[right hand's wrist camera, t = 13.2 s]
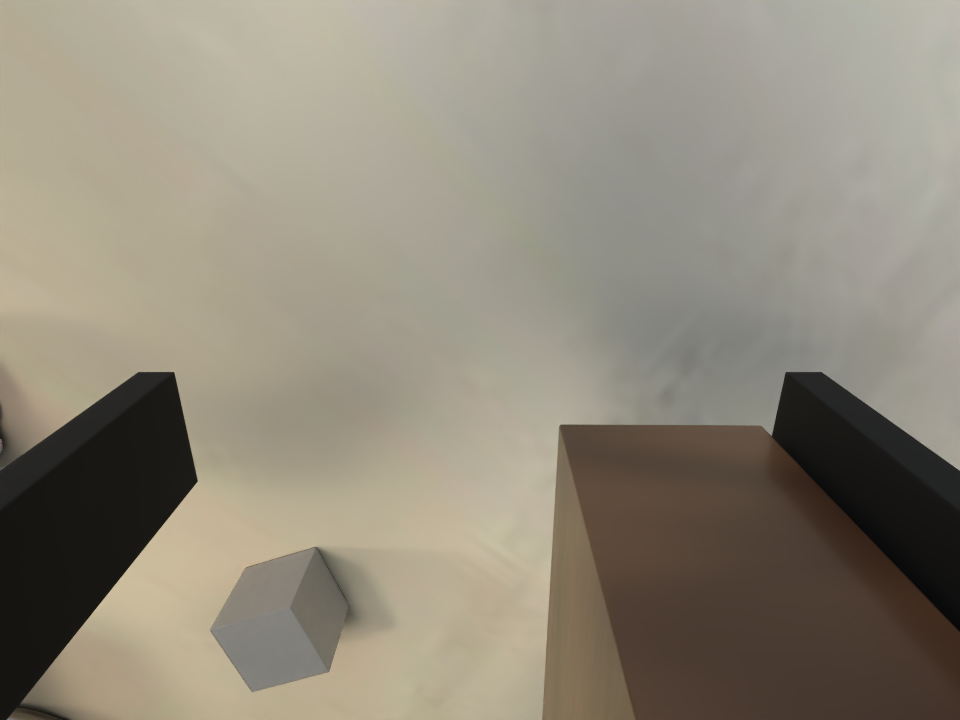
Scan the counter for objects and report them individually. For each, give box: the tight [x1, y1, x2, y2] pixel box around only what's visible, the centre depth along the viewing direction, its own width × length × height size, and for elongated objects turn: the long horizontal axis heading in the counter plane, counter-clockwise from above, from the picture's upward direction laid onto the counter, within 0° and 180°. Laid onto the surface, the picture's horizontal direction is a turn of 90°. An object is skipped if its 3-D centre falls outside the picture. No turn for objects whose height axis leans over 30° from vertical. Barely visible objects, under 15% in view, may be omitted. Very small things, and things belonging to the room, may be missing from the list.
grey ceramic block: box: [210, 547, 349, 692], centre depth 35 cm, size 5×5×5 cm
